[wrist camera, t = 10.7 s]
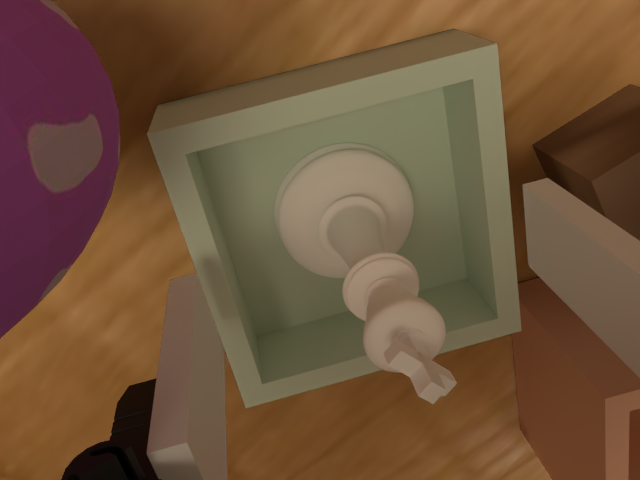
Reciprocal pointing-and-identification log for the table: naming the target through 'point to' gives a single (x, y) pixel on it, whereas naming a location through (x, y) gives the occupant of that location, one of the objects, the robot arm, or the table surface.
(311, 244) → the chess piece
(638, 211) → the walnut block
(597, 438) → the square terracotta box
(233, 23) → the table surface
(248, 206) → the green tray
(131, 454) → the robot arm
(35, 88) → the toy
